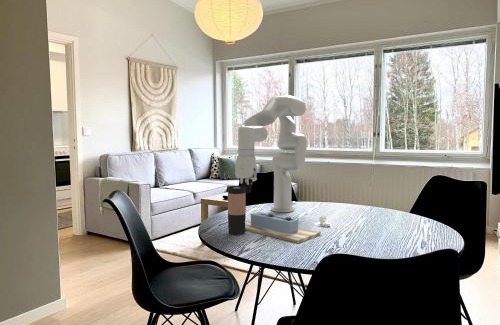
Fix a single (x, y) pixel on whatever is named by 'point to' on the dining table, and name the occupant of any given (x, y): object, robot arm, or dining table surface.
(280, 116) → the robot arm
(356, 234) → the dining table surface
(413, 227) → the dining table surface
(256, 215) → the blue slotted peg holder
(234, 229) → the travel mug
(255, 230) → the board
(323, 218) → the white curved piece
